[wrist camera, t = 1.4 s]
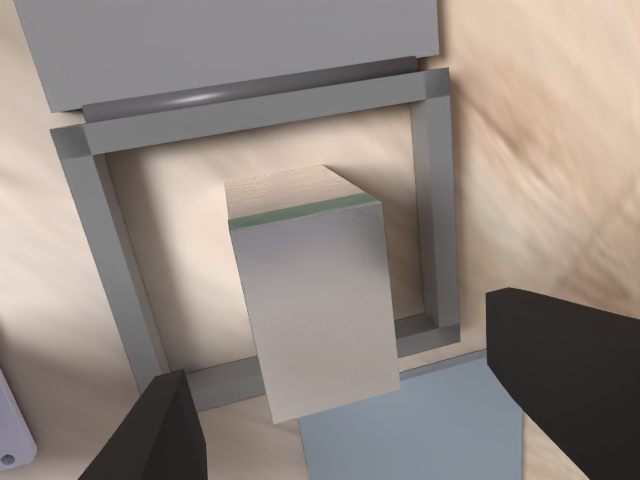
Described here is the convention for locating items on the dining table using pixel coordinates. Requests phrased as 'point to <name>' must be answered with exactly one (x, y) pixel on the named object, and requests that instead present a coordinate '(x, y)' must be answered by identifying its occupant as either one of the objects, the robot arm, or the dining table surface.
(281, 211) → the block
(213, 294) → the dining table surface
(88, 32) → the hinged gray frame
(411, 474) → the pad
